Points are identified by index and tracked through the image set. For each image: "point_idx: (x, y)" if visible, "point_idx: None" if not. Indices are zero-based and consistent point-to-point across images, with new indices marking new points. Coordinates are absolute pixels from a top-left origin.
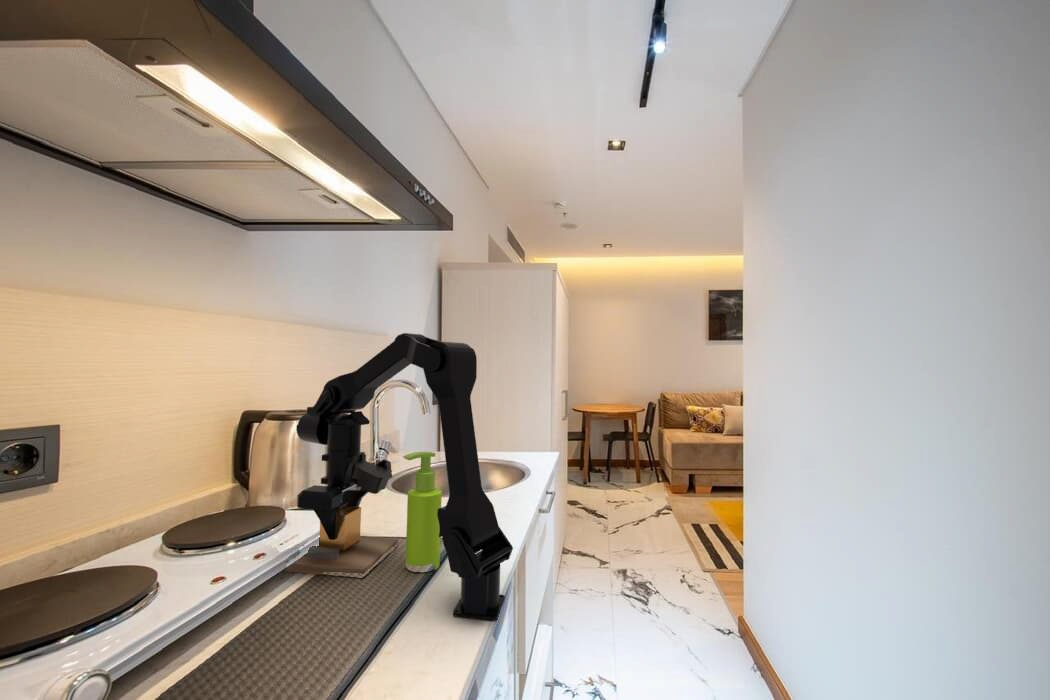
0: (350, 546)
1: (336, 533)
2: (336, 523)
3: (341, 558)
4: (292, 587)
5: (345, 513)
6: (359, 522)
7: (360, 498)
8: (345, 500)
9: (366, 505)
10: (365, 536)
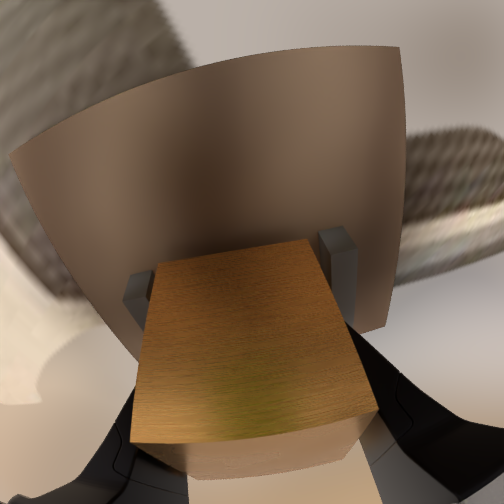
0: None
1: None
2: (388, 373)
3: (324, 213)
4: (452, 227)
5: (328, 432)
6: (155, 341)
7: (102, 491)
8: (171, 494)
9: (3, 384)
10: (84, 288)
